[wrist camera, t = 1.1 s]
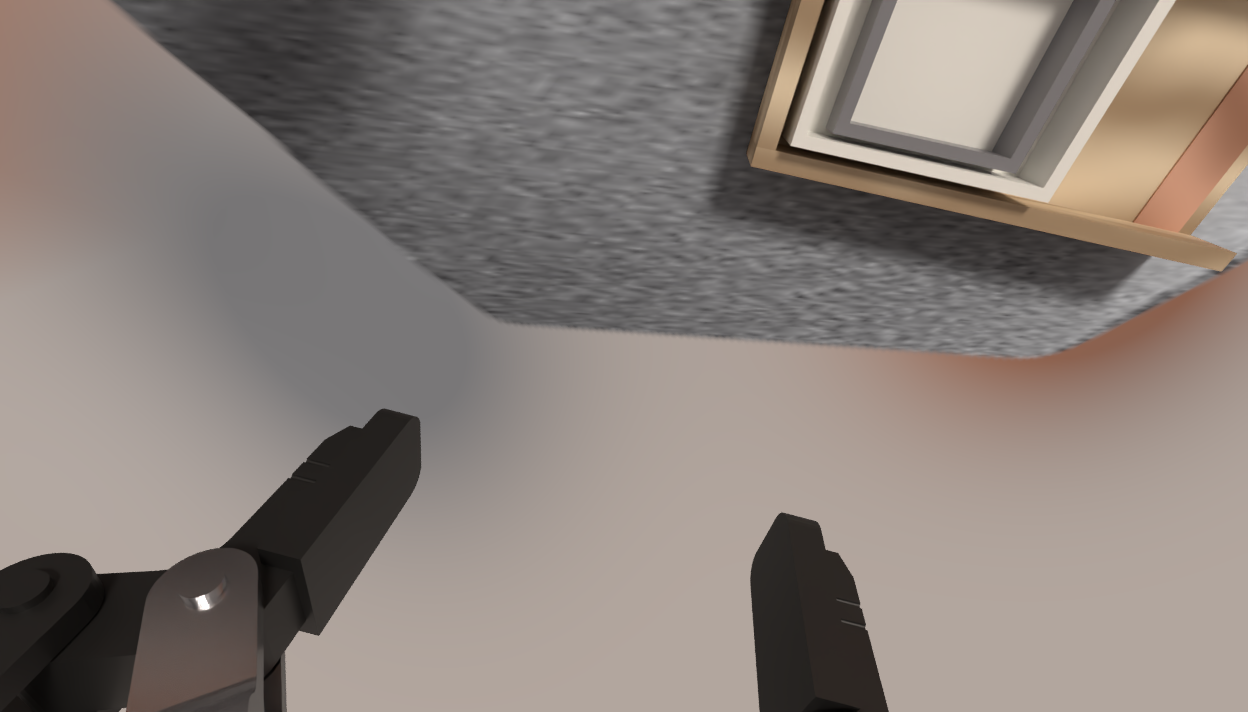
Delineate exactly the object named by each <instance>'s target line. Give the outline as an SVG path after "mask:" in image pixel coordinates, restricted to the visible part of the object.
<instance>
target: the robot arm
mask: <svg viewBox="0 0 1248 712" xmlns="http://www.w3.org/2000/svg"><path fill="white" fill-rule="evenodd" d="M420 439H421V438H420V420H419V418H418V417H415V416H411V415H407V414H403V413H400V412H395V411H392V410H388V409H381V410H379V411H378V412H377V413H376V414H375V415H374V416H373V417H372V419H370V421H369V422H368V423H367V424H366V425H365V426H364V427H363V428H362V429H361V428H357V427H353V426H349V427H347V428H345V429H343V430H342V431H340V432H338V433H336V434H334V435H333V436H331V437H329V438H327V439H326V440H324V441H323V442H322V443H321V444H320V445H319V447H318V448H317V449H316V450H315V451H314V452H313V453H312V454H311V455H310V456H309V457H308V458H307V461H306V462H303V463H302V464H301V465H300V467H299V468H298V469H297V470H296V471H295V472H294V473H293V474H292V477H291V478H288V479H287V480H286V481H285V482H284V483H283V485H281V486H280V488H278V489H277V491H276V492H275V493H274V494H273V495H272V496H271V497H270V498H269V499H268V500H267V501H266V502H265V503H264V504H263V505H262V507H260V509H258V510H257V512H256V513H255V514H254V515H253V516H252V517H251V518H250V519H249V520H248V521H247V522H246V523H245V524H244V525H243V526H242V527H241V528H240V530H238V532H236V534H235V535H234V536H233V537H232V538H231V539H230V540H229V541H228V542H226V543H225V544H224V545H223V546H221V547H220V548H216V549H210V550H206V551H203V552H199V553H197V554H194V555H192V556H189V557H187V558H185V559H184V560H182V561H180V562H178V563H177V564H175V565H174V566H172V567H171V568H170V569H168V570H160V571H146V572H127V573H109V574H96V573H95V571H94V569H93V568H92V566H91V565H90V563H89V562H88V561H87V560H86V559H85V558H83V557H81V556H78V555H75V554H70V553H52V554H45V555H40V556H36V557H33V558H29V559H26V560H23V561H20V562H18V563H15V564H13V565H10V566H8V567H6V568H4V569H2V570H0V712H119V711H120V710H121V708H126V712H287V708H286V674H285V672H286V671H285V650H286V648H287V647H288V646H289V644H290V643H291V641H292V640H293V638H294V637H295V635H296V634H297V632H298V631H303V632H306V633H310V634H314V635H318V636H319V635H320V633H321V632H322V630H323V629H324V627H325V626H326V624H327V623H328V621H329V620H330V618H331V616H332V615H333V614H334V612H335V610H336V609H337V607H338V606H339V604H340V602H341V601H342V600H343V598H344V597H345V595H346V594H347V592H348V590H349V589H350V587H351V586H352V584H353V583H354V581H355V580H356V578H357V577H358V575H359V574H360V572H361V571H362V569H363V568H364V566H365V564H366V563H367V561H368V560H369V558H370V557H371V555H372V554H373V552H374V551H375V549H376V548H377V546H378V545H379V543H380V541H381V540H382V538H383V537H384V535H385V534H386V532H387V531H388V529H389V528H390V526H391V525H392V523H393V522H394V520H395V519H396V517H397V515H398V514H399V512H400V511H401V509H402V508H403V506H404V505H405V503H406V502H407V500H408V499H409V497H410V496H411V494H412V492H413V490H414V488H415V486H416V484H417V481H418V478H419V475H420V470H421V441H420ZM750 579H751V580H750V581H751V598H752V612H753V626H754V639H755V653H756V667H757V681H758V694H759V709H760V712H889V711H888V707H887V703H886V700H885V696H884V692H883V688H882V684H881V681H880V677H879V673H878V669H877V665H876V661H875V658H874V654H873V650H872V646H871V642H870V639H869V635H868V631H867V630H865V625H866V623H865V620H864V616H863V612H862V609H861V608H860V601H859V597H858V593H857V589H856V585H855V582H854V578H853V576H852V575H851V573H850V571H849V570H848V568H847V567H846V565H845V564H844V562H843V560H842V559H841V557H840V556H839V554H838V553H836V552H832V551H828V550H825V546H824V541H823V536H822V532H821V528H820V525H819V524H818V522H816V521H813V520H809V519H805V518H802V517H797V516H794V515H790V514H786V513H780V514H779V515H778V516H777V517H776V519H775V521H774V523H773V524H772V526H771V528H770V530H769V531H768V533H767V535H766V537H765V538H764V540H763V542H762V544H761V545H760V547H759V549H758V551H757V552H756V554H755V557H754V560H753V564H752V569H751V578H750Z"/></svg>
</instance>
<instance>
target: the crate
mask: <svg viewBox="0 0 1248 712" xmlns="http://www.w3.org/2000/svg"><path fill="white" fill-rule="evenodd" d="M1175 1H1176V0H826V1H825V4H824V7H823V10H822V13H821V16H820V19H819V22H818V25H817V29H816V32H815V35H814V38H813V41H812V44H811V47H810V50H809V53H808V56H807V59H806V62H805V65H804V68H803V72H802V75H801V78H800V81H799V84H798V87H797V90H796V93H795V96H794V99H793V102H792V105H791V108H790V111H789V114H788V118H787V121H786V124H785V127H784V130H783V133H782V136H783V137H784V138H785V140H786V141H787V142H788V143H789V144H790V146H794V147H798V148H803V149H807V150H812V151H816V152H821V153H825V154H830V155H834V156H839V157H843V158H848V159H852V160H857V161H861V162H866V163H871V164H875V165H880V166H884V167H889V168H893V169H898V170H902V171H907V172H911V173H916V174H920V175H925V176H929V177H934V178H938V179H943V180H947V181H952V182H956V183H961V184H965V185H970V186H974V187H979V188H983V189H988V190H992V191H997V192H1001V193H1006V194H1010V195H1015V196H1019V197H1024V198H1028V199H1033V200H1037V201H1042V202H1046V203H1048V202H1049V201H1050V199H1051V198H1052V196H1053V195H1054V193H1055V191H1056V190H1057V188H1058V187H1059V185H1060V183H1061V182H1062V180H1063V179H1064V177H1065V175H1066V174H1067V172H1068V171H1069V169H1070V168H1071V166H1072V164H1073V163H1074V161H1075V160H1076V158H1077V156H1078V155H1079V153H1080V152H1081V150H1082V148H1083V147H1084V145H1085V144H1086V142H1087V141H1088V139H1089V137H1090V136H1091V134H1092V133H1093V131H1094V129H1095V128H1096V126H1097V125H1098V123H1099V122H1100V120H1101V118H1102V117H1103V115H1104V114H1105V112H1106V110H1107V109H1108V107H1109V106H1110V104H1111V102H1112V101H1113V99H1114V98H1115V96H1116V95H1117V93H1118V91H1119V90H1120V88H1121V87H1122V85H1123V83H1124V82H1125V80H1126V79H1127V77H1128V75H1129V74H1130V72H1131V71H1132V69H1133V68H1134V66H1135V64H1136V63H1137V61H1138V60H1139V58H1140V56H1141V55H1142V53H1143V52H1144V50H1145V49H1146V47H1147V45H1148V44H1149V42H1150V41H1151V39H1152V37H1153V36H1154V34H1155V33H1156V31H1157V29H1158V28H1159V26H1160V25H1161V23H1162V22H1163V20H1164V18H1165V17H1166V15H1167V14H1168V12H1169V10H1170V9H1171V7H1172V6H1173V4H1174V3H1175Z"/></svg>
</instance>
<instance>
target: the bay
mask: <svg viewBox="0 0 1248 712" xmlns="http://www.w3.org/2000/svg"><path fill="white" fill-rule="evenodd" d="M825 1H826V0H791V4H790V7H789V11H788V14H787V17H786V21H785V24H784V27H783V31H782V34H781V38H780V41H779V44H778V48H777V51H776V54H775V58H774V61H773V65H772V68H771V71H770V75H769V78H768V81H767V85H766V88H765V92H764V95H763V98H762V102H761V105H760V109H759V112H758V115H757V119H756V122H755V125H754V129H753V132H752V136H751V139H750V142H749V146H748V149H747V152H746V154H747V157H748V160H749V163H750V166H752V167H756V168H761V169H765V170H770V171H774V172H779V173H783V174H788V175H792V176H796V177H801V178H805V179H810V180H814V181H819V182H823V183H828V184H832V185H837V186H841V187H846V188H850V189H855V190H859V191H864V192H868V193H873V194H877V195H881V196H886V197H890V198H895V199H899V200H904V201H908V202H913V203H917V204H922V205H926V206H931V207H935V208H940V209H944V210H949V211H953V212H958V213H962V214H966V215H971V216H975V217H980V218H984V219H989V220H993V221H998V222H1002V223H1007V224H1011V225H1016V226H1020V227H1025V228H1029V229H1034V230H1038V231H1043V232H1047V233H1052V234H1056V235H1060V236H1065V237H1069V238H1074V239H1078V240H1083V241H1087V242H1092V243H1096V244H1101V245H1105V246H1110V247H1114V248H1119V249H1123V250H1128V251H1132V252H1137V253H1141V254H1145V255H1150V256H1154V257H1159V258H1163V259H1168V260H1172V261H1177V262H1181V263H1186V264H1190V265H1195V266H1199V267H1204V268H1208V269H1213V270H1217V271H1222V270H1223V269H1224V268H1225V267H1226V266H1227V264H1228V263H1229V262H1230V261H1231V260H1232V259H1233V258H1234V257H1235V255H1236V254H1237V253H1235V252H1232V251H1229V250H1227V249H1224V248H1222V247H1219V246H1217V245H1214V244H1212V243H1209V242H1207V241H1204V240H1201V239H1199V238H1196V237H1194V236H1191V234H1192V232H1193V231H1194V230H1195V229H1196V228H1197V226H1198V225H1199V224H1200V223H1201V221H1202V220H1203V219H1204V218H1205V216H1206V215H1207V214H1208V213H1209V211H1210V210H1211V209H1212V208H1213V206H1214V205H1215V204H1216V203H1217V202H1218V200H1219V199H1220V198H1221V197H1222V195H1223V194H1224V193H1225V192H1226V190H1227V189H1228V188H1229V187H1230V185H1231V184H1232V183H1233V182H1234V180H1235V179H1236V178H1237V177H1238V176H1239V174H1240V173H1241V172H1242V171H1243V169H1244V168H1245V167H1246V166H1247V164H1248V0H1176V1H1175V3H1174V4H1173V6H1172V7H1171V9H1170V10H1169V12H1168V14H1167V15H1166V17H1165V18H1164V20H1163V22H1162V23H1161V25H1160V26H1159V28H1158V29H1157V31H1156V33H1155V34H1154V36H1153V37H1152V39H1151V41H1150V42H1149V44H1148V45H1147V47H1146V49H1145V50H1144V52H1143V53H1142V55H1141V56H1140V58H1139V60H1138V61H1137V63H1136V64H1135V66H1134V68H1133V69H1132V71H1131V72H1130V74H1129V75H1128V77H1127V79H1126V80H1125V82H1124V83H1123V85H1122V87H1121V88H1120V90H1119V91H1118V93H1117V95H1116V96H1115V98H1114V99H1113V101H1112V102H1111V104H1110V106H1109V107H1108V109H1107V110H1106V112H1105V114H1104V115H1103V117H1102V118H1101V120H1100V122H1099V123H1098V125H1097V126H1096V128H1095V129H1094V131H1093V133H1092V134H1091V136H1090V137H1089V139H1088V141H1087V142H1086V144H1085V145H1084V147H1083V148H1082V150H1081V152H1080V153H1079V155H1078V156H1077V158H1076V160H1075V161H1074V163H1073V164H1072V166H1071V168H1070V169H1069V171H1068V172H1067V174H1066V175H1065V177H1064V179H1063V180H1062V182H1061V183H1060V185H1059V187H1058V188H1057V190H1056V191H1055V193H1054V195H1053V196H1052V198H1051V199H1050V201H1049V202H1048V203H1046V202H1042V201H1037V200H1033V199H1028V198H1024V197H1019V196H1015V195H1010V194H1006V193H1001V192H997V191H992V190H988V189H983V188H979V187H974V186H970V185H965V184H961V183H956V182H952V181H947V180H943V179H938V178H934V177H929V176H925V175H920V174H916V173H911V172H907V171H902V170H898V169H893V168H889V167H884V166H880V165H875V164H871V163H866V162H861V161H857V160H852V159H848V158H843V157H839V156H834V155H830V154H825V153H821V152H816V151H812V150H807V149H803V148H798V147H794V146H790V144H789V143H788V142H787V141H786V140H785V138H784V137H783V136H782V133H783V130H784V127H785V124H786V121H787V118H788V114H789V111H790V108H791V105H792V102H793V99H794V96H795V93H796V90H797V87H798V84H799V81H800V78H801V75H802V72H803V68H804V65H805V62H806V59H807V56H808V53H809V50H810V47H811V44H812V41H813V38H814V35H815V32H816V29H817V25H818V22H819V19H820V16H821V13H822V10H823V7H824V4H825Z"/></svg>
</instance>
